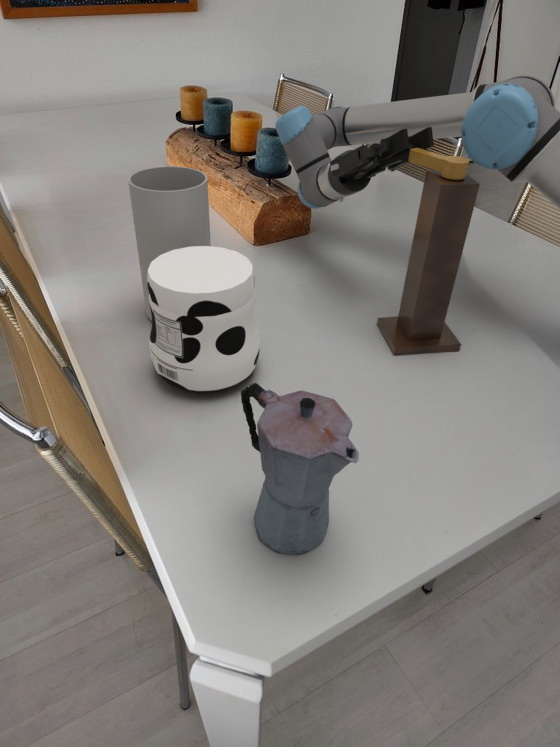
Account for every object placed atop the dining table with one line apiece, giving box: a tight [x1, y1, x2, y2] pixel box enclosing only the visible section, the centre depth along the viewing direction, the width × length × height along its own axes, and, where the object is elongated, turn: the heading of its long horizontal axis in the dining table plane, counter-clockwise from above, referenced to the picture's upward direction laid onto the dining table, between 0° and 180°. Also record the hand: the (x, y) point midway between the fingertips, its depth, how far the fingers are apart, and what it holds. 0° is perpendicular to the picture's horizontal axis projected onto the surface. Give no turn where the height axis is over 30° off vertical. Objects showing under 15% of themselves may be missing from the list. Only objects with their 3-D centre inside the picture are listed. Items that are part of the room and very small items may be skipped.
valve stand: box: [376, 170, 481, 356], centre depth 90 cm, size 12×10×29 cm
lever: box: [381, 138, 470, 180], centre depth 84 cm, size 4×16×2 cm, turn 38°
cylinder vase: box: [127, 165, 212, 322], centre depth 95 cm, size 12×12×25 cm
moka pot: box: [240, 382, 360, 556], centre depth 59 cm, size 10×15×20 cm, turn 53°
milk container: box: [147, 245, 261, 393], centre depth 83 cm, size 17×17×18 cm
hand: (418, 137), depth 82 cm, fingers closed on lever, 4 cm apart
